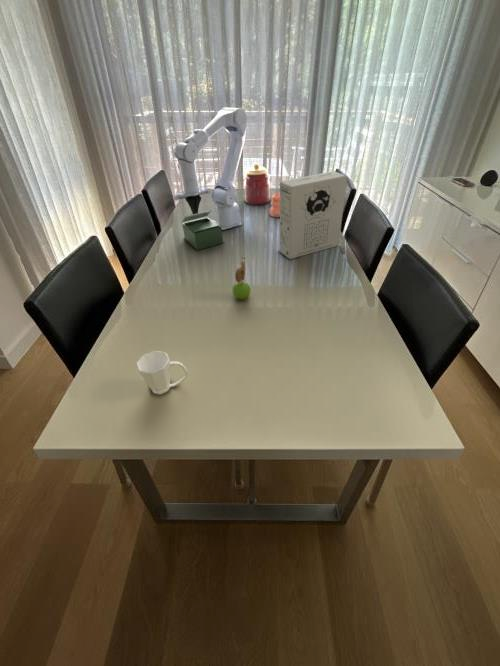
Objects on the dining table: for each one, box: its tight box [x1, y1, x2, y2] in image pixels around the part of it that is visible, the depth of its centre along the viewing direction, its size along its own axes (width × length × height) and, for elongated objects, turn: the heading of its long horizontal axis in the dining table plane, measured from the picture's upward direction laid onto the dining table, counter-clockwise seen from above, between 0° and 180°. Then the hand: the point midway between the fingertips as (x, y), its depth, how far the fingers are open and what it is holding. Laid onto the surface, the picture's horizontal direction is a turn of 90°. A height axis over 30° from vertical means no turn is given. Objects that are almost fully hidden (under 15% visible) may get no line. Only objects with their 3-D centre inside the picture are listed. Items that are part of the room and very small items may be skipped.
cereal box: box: [279, 170, 348, 260], centre depth 120 cm, size 22×8×25 cm, turn 115°
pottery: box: [269, 191, 280, 218], centre depth 154 cm, size 18×10×10 cm, turn 94°
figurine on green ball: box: [231, 256, 251, 300], centre depth 100 cm, size 5×6×12 cm
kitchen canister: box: [243, 162, 271, 206], centre depth 168 cm, size 13×13×18 cm
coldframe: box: [181, 216, 224, 251], centre depth 136 cm, size 13×11×7 cm
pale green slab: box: [181, 209, 212, 223], centre depth 135 cm, size 6×11×1 cm
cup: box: [135, 350, 188, 395], centre depth 74 cm, size 7×10×8 cm
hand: (195, 215), depth 136 cm, fingers closed
